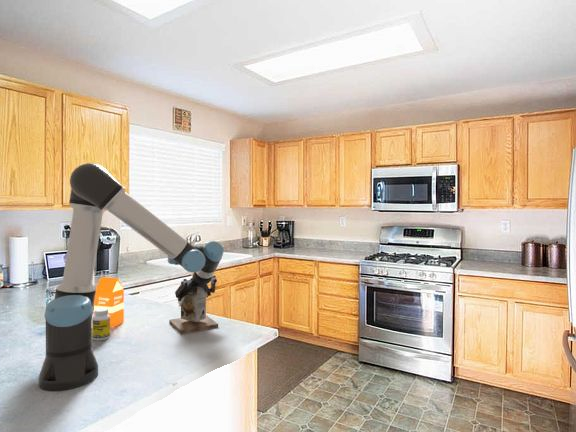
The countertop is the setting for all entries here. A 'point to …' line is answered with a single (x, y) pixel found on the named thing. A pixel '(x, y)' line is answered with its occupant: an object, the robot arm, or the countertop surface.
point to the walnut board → (192, 325)
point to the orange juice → (110, 299)
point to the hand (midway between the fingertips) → (191, 302)
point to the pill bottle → (101, 324)
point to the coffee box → (194, 305)
